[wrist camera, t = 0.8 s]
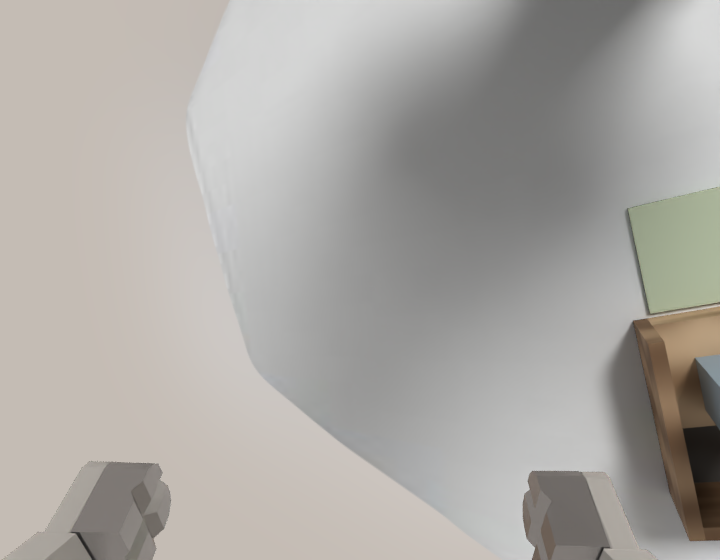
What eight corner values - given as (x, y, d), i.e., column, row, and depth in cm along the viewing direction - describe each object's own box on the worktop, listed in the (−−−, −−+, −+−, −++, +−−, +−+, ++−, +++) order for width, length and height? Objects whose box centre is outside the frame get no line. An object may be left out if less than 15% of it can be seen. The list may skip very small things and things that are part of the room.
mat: (627, 208, 47) (628, 208, 46) (757, 177, 43) (759, 177, 43) (649, 312, 48) (650, 313, 47) (777, 290, 44) (780, 292, 44)
